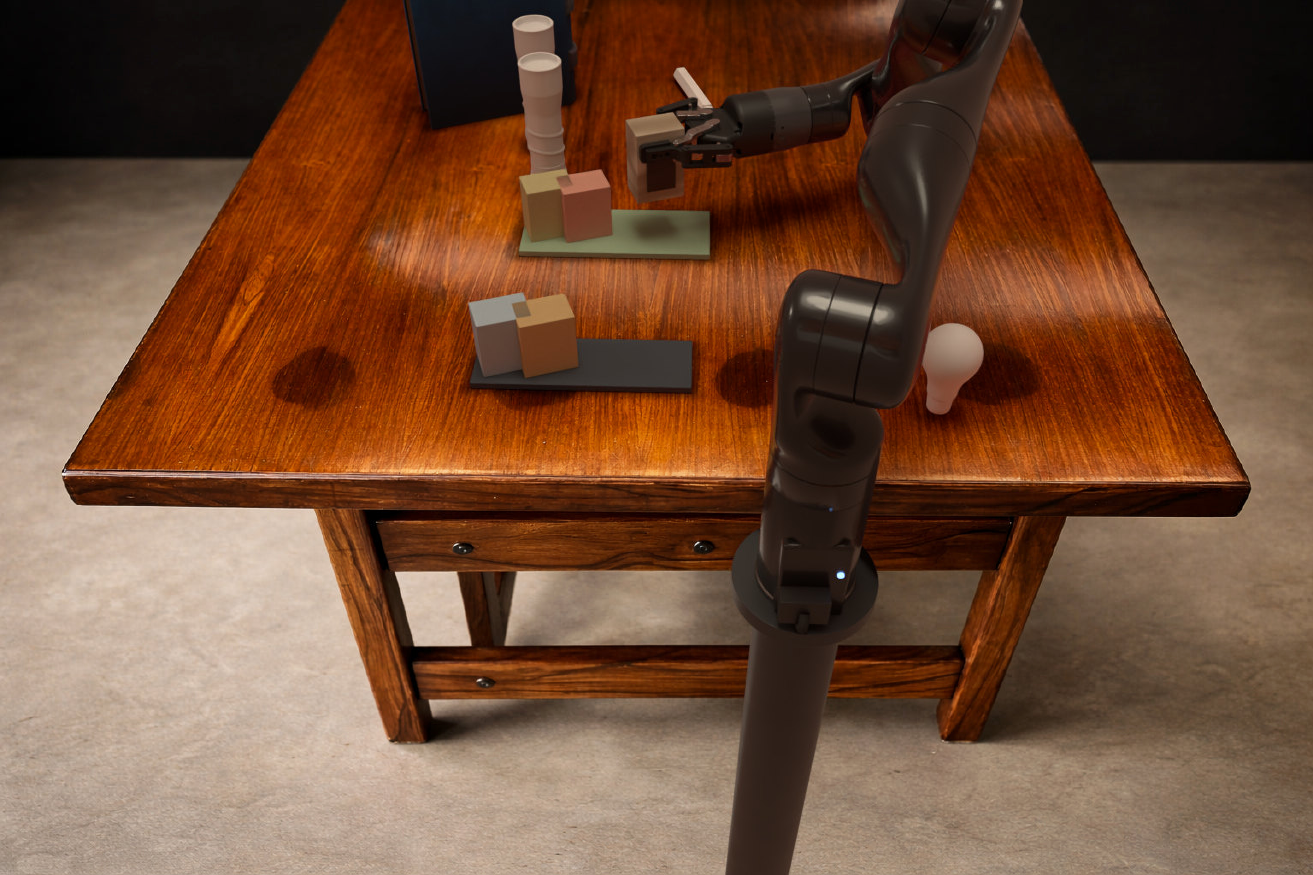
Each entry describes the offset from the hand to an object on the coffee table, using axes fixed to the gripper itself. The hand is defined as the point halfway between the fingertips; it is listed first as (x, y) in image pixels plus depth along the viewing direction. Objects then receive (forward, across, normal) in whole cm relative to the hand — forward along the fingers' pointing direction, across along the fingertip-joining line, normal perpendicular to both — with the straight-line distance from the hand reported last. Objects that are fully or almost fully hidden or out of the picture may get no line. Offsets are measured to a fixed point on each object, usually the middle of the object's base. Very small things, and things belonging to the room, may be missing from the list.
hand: (634, 143), depth 122 cm
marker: (-20, -33, +14) cm, 41 cm away
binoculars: (+7, -21, +14) cm, 26 cm away
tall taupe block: (-3, 0, +7) cm, 7 cm away
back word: (+2, -2, +14) cm, 14 cm away
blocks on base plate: (+13, +22, +13) cm, 29 cm away
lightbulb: (-21, +41, +14) cm, 48 cm away
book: (+9, -42, +14) cm, 45 cm away
